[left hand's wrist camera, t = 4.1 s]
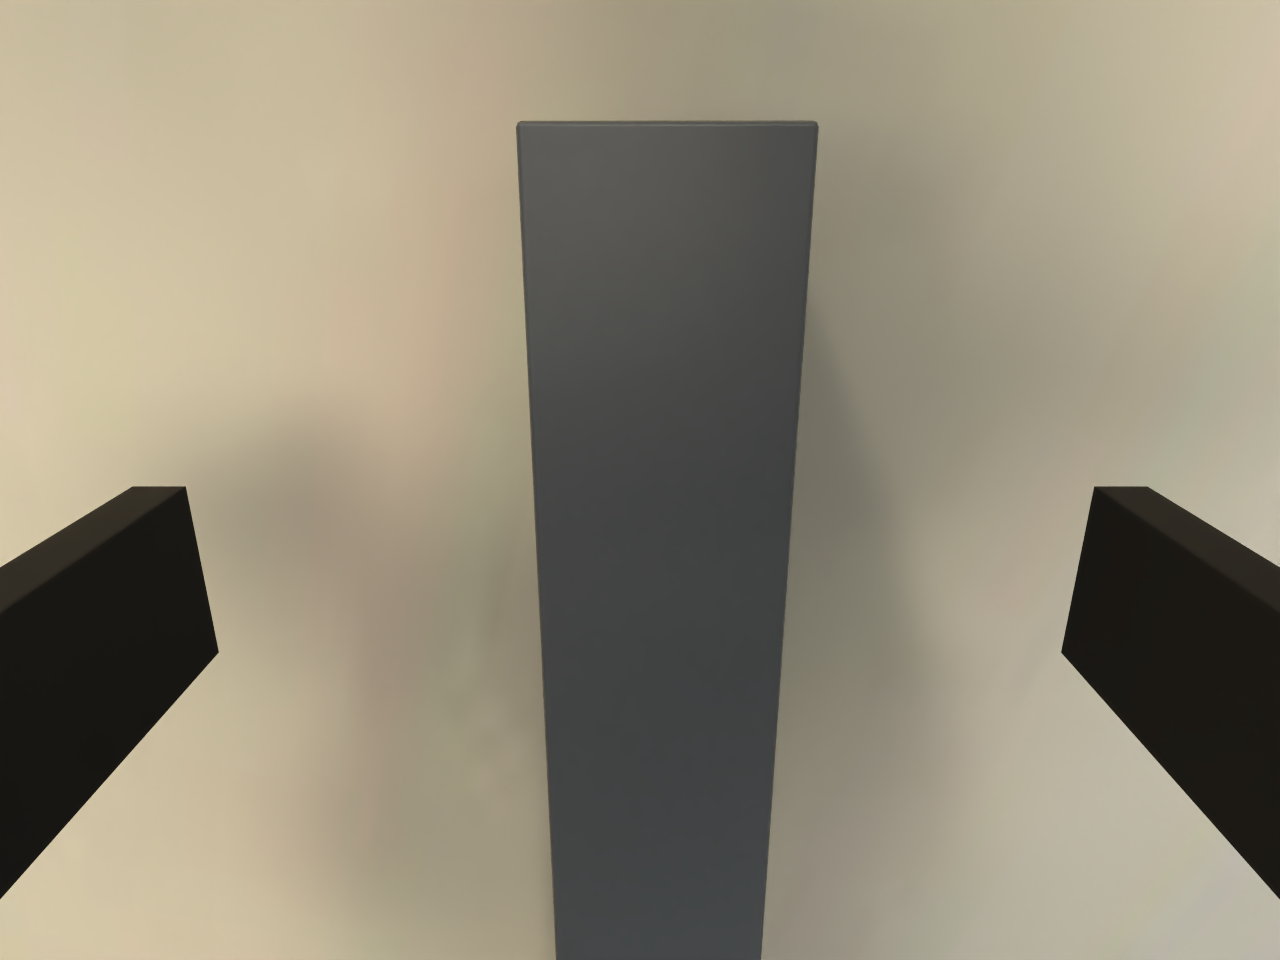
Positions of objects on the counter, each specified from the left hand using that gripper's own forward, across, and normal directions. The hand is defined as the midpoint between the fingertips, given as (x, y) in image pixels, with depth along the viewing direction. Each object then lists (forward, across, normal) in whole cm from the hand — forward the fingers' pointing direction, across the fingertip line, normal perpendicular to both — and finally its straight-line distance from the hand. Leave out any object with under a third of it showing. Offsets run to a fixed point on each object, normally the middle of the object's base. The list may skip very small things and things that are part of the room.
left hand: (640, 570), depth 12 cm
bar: (+10, 0, -33) cm, 34 cm away
